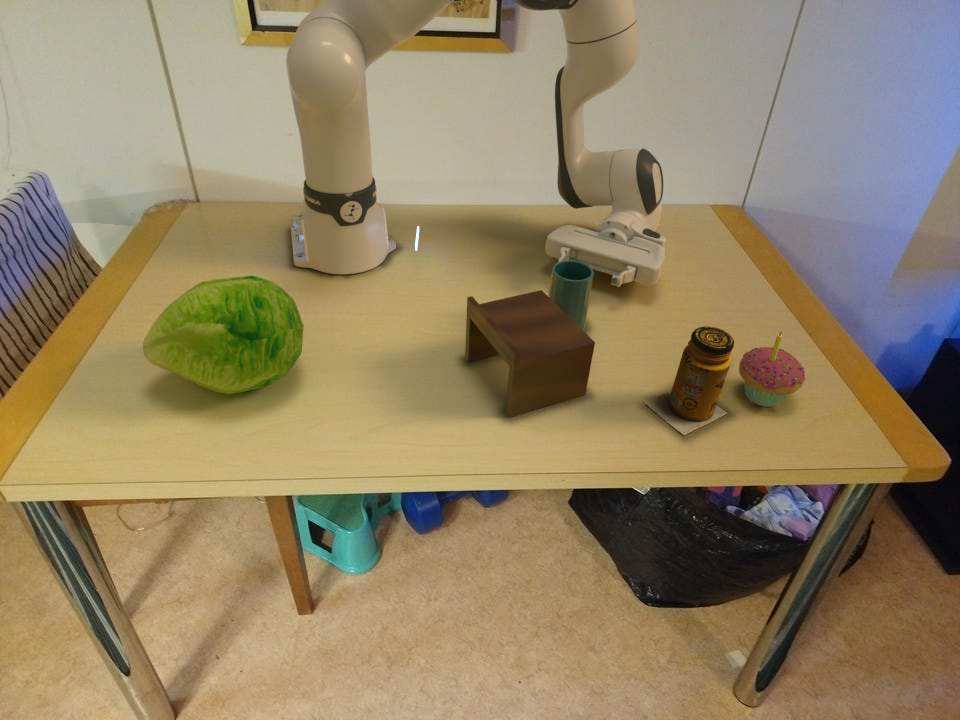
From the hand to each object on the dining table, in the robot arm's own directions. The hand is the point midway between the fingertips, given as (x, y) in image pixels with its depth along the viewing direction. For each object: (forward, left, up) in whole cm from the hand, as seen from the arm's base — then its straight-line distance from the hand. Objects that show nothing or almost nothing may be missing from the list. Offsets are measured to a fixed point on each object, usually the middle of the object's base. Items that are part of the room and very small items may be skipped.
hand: (587, 273), depth 107 cm
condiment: (+28, -2, -6) cm, 29 cm away
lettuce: (-2, -56, -6) cm, 56 cm away
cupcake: (+30, +10, -6) cm, 33 cm away
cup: (+5, -7, -6) cm, 10 cm away
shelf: (+13, -19, -5) cm, 24 cm away
